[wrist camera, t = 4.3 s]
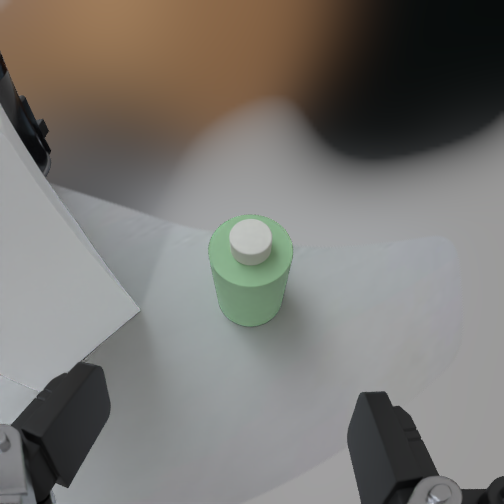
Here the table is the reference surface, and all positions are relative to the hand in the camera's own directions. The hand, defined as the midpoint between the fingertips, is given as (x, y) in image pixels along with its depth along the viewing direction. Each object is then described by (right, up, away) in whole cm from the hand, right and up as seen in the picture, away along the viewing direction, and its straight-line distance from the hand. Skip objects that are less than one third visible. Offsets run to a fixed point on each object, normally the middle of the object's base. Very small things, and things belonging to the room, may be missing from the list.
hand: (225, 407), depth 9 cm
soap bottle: (+1, +1, +16) cm, 16 cm away
